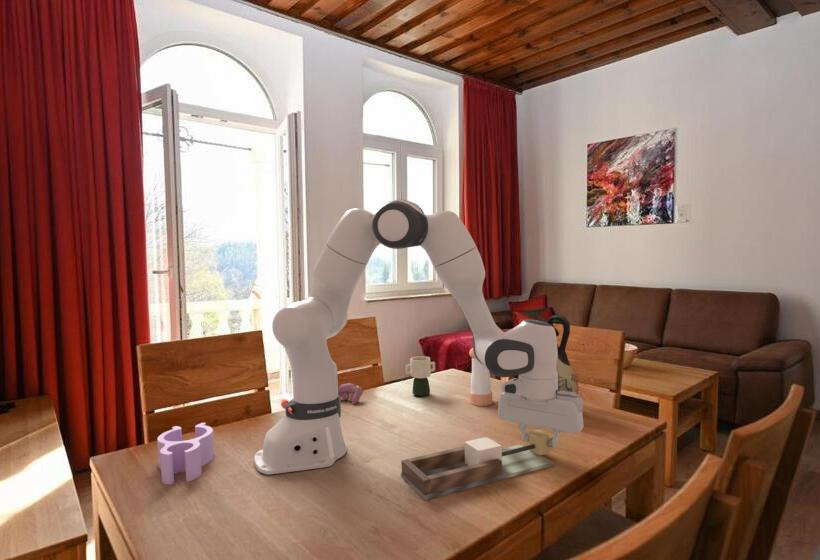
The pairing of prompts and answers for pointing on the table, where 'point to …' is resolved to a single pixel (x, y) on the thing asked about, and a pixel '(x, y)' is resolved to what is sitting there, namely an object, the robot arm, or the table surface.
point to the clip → (184, 452)
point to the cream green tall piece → (420, 374)
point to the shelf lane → (465, 470)
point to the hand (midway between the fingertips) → (539, 443)
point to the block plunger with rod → (491, 450)
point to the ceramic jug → (564, 357)
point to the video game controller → (349, 387)
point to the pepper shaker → (480, 383)
